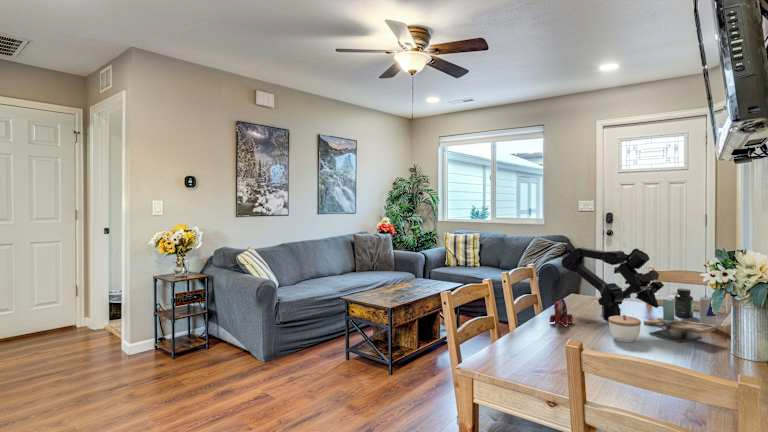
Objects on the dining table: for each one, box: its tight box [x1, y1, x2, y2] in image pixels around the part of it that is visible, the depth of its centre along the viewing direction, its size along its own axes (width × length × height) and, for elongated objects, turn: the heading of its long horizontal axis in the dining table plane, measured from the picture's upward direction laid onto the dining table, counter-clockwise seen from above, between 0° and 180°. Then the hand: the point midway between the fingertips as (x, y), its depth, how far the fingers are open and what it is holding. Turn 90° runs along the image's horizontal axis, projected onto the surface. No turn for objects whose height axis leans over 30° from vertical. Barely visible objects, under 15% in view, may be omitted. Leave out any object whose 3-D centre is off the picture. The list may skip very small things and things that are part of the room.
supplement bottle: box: [674, 288, 694, 319], centre depth 189 cm, size 7×7×12 cm
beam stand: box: [649, 318, 702, 344], centre depth 164 cm, size 11×14×5 cm
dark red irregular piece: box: [549, 298, 574, 325], centre depth 183 cm, size 7×12×10 cm, turn 139°
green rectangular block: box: [660, 298, 679, 324], centre depth 166 cm, size 4×6×9 cm, turn 114°
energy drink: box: [698, 296, 717, 328], centre depth 172 cm, size 5×5×12 cm
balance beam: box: [643, 317, 717, 335], centre depth 163 cm, size 21×9×2 cm, turn 24°
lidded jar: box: [607, 314, 642, 343], centre depth 161 cm, size 11×11×9 cm
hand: (657, 307), depth 170 cm, fingers closed
